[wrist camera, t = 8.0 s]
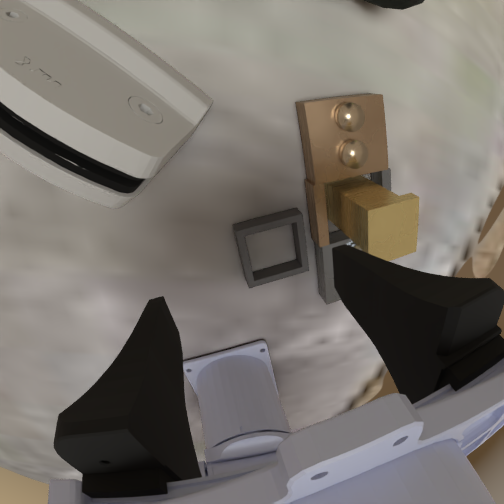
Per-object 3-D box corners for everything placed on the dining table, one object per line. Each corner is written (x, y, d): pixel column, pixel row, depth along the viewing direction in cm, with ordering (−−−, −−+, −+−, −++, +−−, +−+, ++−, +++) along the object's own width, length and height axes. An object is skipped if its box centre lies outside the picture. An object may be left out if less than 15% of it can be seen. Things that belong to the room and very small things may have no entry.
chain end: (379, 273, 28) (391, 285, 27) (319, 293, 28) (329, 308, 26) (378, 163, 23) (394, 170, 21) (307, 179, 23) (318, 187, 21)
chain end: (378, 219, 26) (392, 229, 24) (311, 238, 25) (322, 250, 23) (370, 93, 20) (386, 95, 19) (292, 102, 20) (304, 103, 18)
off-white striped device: (218, 104, 19) (188, 180, 12) (172, 152, 21) (126, 248, 14) (40, -23, 11) (-70, -7, 4) (9, 32, 14) (-94, 75, 6)
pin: (365, 213, 25) (416, 251, 19) (323, 224, 25) (368, 268, 19) (363, 168, 23) (419, 197, 17) (318, 178, 23) (367, 210, 17)
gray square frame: (303, 262, 26) (309, 270, 25) (245, 279, 25) (249, 288, 24) (296, 208, 23) (302, 213, 22) (232, 224, 23) (235, 231, 22)
